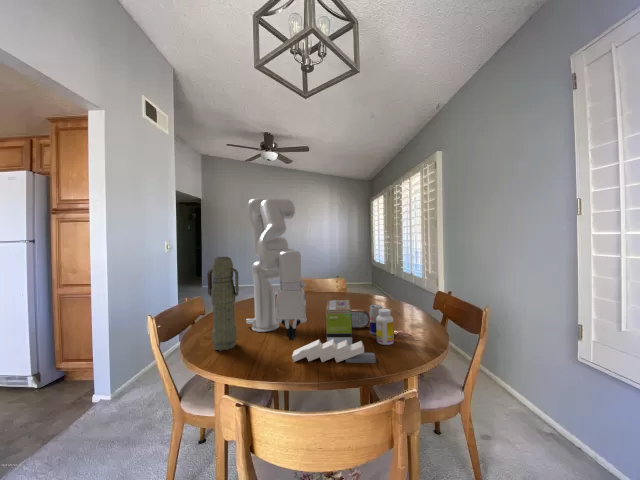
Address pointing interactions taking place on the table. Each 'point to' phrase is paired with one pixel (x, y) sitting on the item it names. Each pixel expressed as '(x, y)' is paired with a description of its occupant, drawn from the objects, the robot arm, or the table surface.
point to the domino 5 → (362, 358)
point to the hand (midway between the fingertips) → (291, 338)
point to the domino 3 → (336, 351)
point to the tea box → (339, 321)
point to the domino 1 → (306, 350)
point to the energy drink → (373, 317)
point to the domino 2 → (323, 350)
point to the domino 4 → (351, 351)
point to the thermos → (223, 302)
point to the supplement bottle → (385, 327)
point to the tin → (360, 318)
